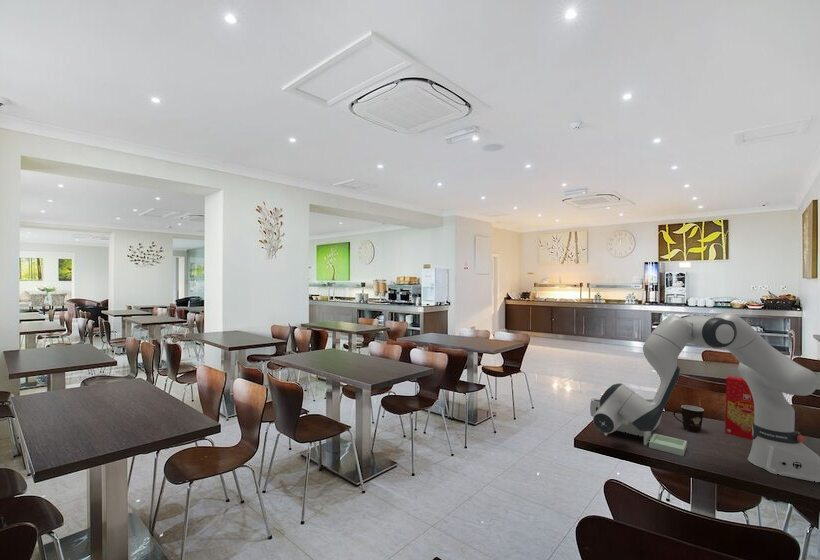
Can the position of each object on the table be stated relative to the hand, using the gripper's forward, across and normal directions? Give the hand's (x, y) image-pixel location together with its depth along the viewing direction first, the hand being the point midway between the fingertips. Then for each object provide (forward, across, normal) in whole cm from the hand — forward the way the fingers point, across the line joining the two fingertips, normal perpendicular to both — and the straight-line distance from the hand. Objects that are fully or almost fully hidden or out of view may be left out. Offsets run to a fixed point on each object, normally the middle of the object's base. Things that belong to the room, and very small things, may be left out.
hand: (622, 404), depth 165 cm
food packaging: (+48, -40, +17) cm, 65 cm away
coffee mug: (+42, -19, +17) cm, 49 cm away
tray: (+10, -15, +17) cm, 25 cm away
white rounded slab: (+28, -3, +17) cm, 33 cm away
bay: (+12, 0, +17) cm, 20 cm away
